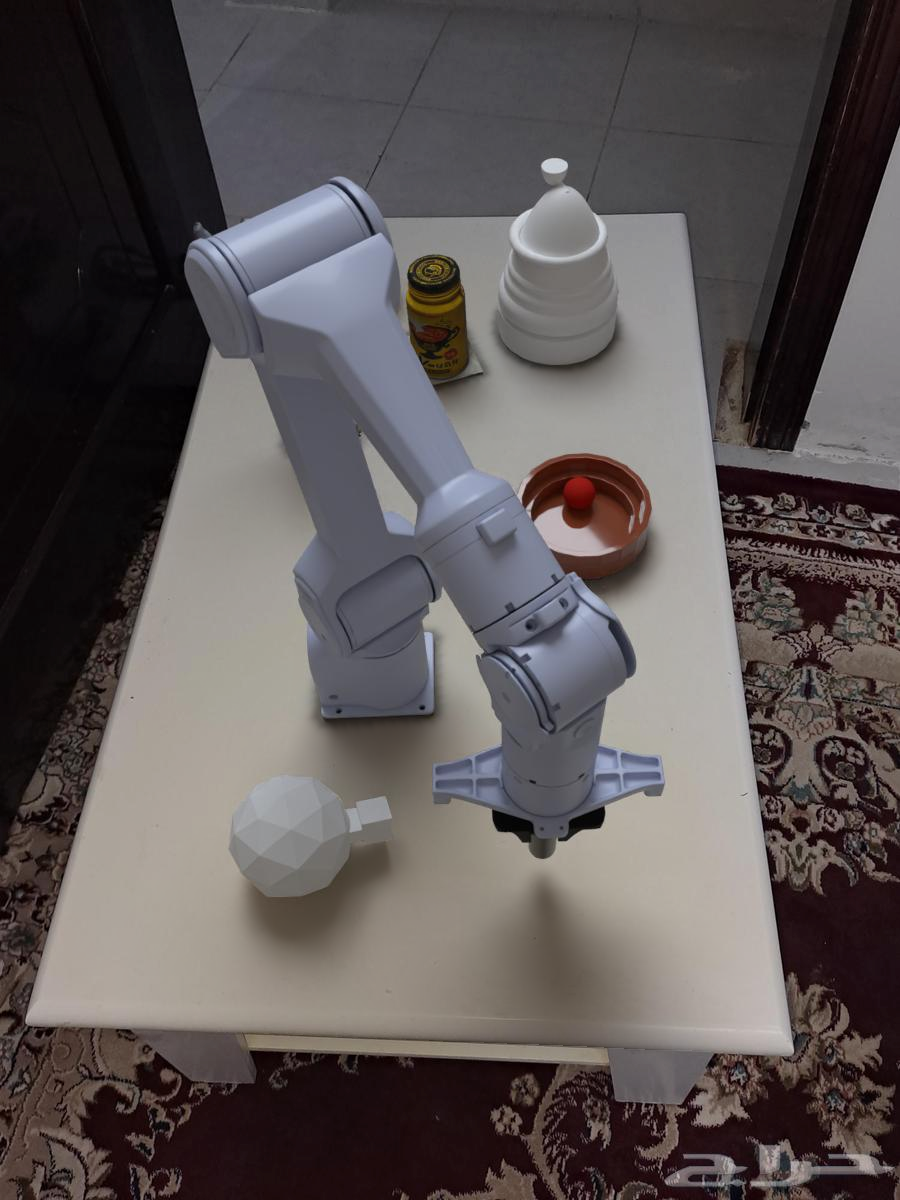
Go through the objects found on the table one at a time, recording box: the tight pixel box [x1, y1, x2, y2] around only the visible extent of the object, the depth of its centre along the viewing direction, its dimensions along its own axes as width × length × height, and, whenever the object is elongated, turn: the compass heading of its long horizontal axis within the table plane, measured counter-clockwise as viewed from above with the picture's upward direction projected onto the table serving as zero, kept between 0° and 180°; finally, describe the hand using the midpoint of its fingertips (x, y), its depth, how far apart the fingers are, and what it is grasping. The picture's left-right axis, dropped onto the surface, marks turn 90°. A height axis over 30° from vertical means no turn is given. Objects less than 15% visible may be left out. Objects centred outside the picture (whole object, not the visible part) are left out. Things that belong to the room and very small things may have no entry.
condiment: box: [405, 253, 484, 386], centre depth 103 cm, size 7×8×12 cm
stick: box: [527, 822, 558, 860], centre depth 69 cm, size 2×2×8 cm
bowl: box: [516, 452, 653, 580], centre depth 92 cm, size 12×12×4 cm
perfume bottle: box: [228, 774, 394, 898], centre depth 74 cm, size 9×9×12 cm
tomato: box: [563, 477, 595, 509], centre depth 93 cm, size 3×3×3 cm
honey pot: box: [497, 157, 620, 366], centre depth 103 cm, size 13×13×18 cm
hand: (543, 828), depth 70 cm, fingers closed on stick, 2 cm apart
